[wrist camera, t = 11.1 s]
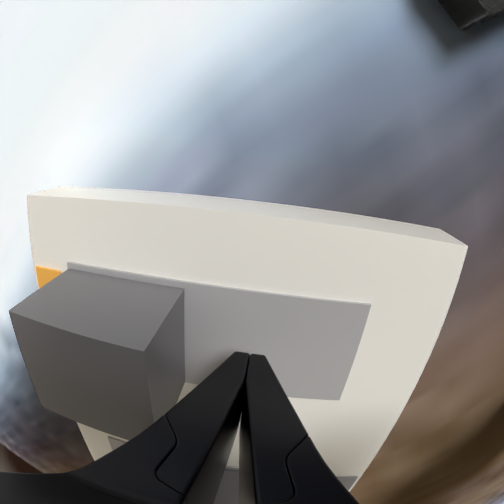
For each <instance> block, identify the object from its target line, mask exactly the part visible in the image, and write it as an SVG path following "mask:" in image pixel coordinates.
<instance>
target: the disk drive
mask: <svg viewBox="0 0 504 504" xmlns="http://www.w3.org/2000/svg"><path fill="white" fill-rule="evenodd" d="M438 1H439V2H440V3H441V4H442V5H443V6H444V8H445V9H446V11H447V12H448V13H449V15H450V16H451V17H452V19H453V20H454V21H455V23H456V24H457V26H458V27H459V28H460V29H462V30H466V29H468V28H470V27H471V26H473V25H475V24H477V23H479V22H481V23H482V22H485V21H486V20H488V19H491V18H493V17H495V16H497V15H499V14H501V13H503V12H504V0H438Z"/></svg>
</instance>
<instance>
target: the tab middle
mask: <svg viewBox="0 0 504 504" xmlns="http://www.w3.org/2000/svg"><path fill="white" fill-rule="evenodd" d="M213 504H239V472H236V471H229V470H225V471H224V474H223V477H222V480H221V483H220V486H219V489H218V492H217V494H216V497H215V500H214V503H213Z"/></svg>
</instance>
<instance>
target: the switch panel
mask: <svg viewBox="0 0 504 504" xmlns="http://www.w3.org/2000/svg"><path fill="white" fill-rule="evenodd" d="M27 205H28V220H29V232H30V241H31V250H32V258H33V265H34V271H35V278H36V283H37V289H40V288H41V287H42V286H44V285H45V284H47V283H48V282H50V281H51V280H53V279H54V278H55V277H57V276H58V275H60V274H61V273H63V272H64V271H66V270H67V269H74V270H80V271H85V272H90V273H95V274H101V275H106V276H112V277H117V278H123V279H128V280H134V281H140V282H146V283H152V284H158V285H164V286H170V287H177V288H183V289H184V346H185V383H184V386H183V388H182V391H181V394H180V396H179V399H178V401H177V403H178V402H179V401H180V400H181V399H183V398H184V397H185V396H186V395H187V394H188V393H189V392H191V391H192V390H193V389H194V388H195V387H196V386H197V385H199V384H200V383H201V382H202V381H203V380H204V379H205V378H206V377H207V376H209V375H210V374H211V373H212V372H213V371H214V370H215V369H216V368H217V367H218V366H220V365H221V364H222V363H223V362H224V361H225V360H226V359H227V358H228V357H229V356H230V355H231V354H233V353H234V352H235V351H239V352H246V353H249V355H250V354H261V355H265V356H266V358H267V360H268V362H269V364H270V365H271V367H272V369H273V371H274V373H275V375H276V377H277V378H278V380H279V382H280V384H281V386H282V388H283V389H284V391H285V393H286V395H287V397H288V399H289V400H290V402H291V404H292V406H293V408H294V409H295V411H296V413H297V415H298V417H299V418H300V420H301V422H302V424H303V426H304V427H305V429H306V431H307V433H308V436H309V437H310V438H311V439H312V441H313V443H314V445H315V447H316V448H317V450H318V451H319V453H320V455H321V456H322V458H323V459H324V461H325V462H326V464H327V465H328V466H329V468H330V469H331V470H332V472H333V473H334V474H335V476H336V477H337V478H338V479H339V480H340V482H341V483H342V484H343V485H344V487H345V488H346V489H347V490H348V491H349V492H350V491H351V489H352V488H353V487H354V485H355V484H356V483H357V481H358V480H359V479H360V477H361V476H362V474H363V473H364V472H365V470H366V469H367V467H368V466H369V464H370V463H371V461H372V460H373V458H374V457H375V455H376V454H377V452H378V451H379V449H380V448H381V446H382V445H383V443H384V441H385V440H386V438H387V436H388V435H389V433H390V432H391V430H392V428H393V426H394V425H395V423H396V421H397V420H398V418H399V416H400V414H401V413H402V411H403V409H404V407H405V405H406V403H407V402H408V400H409V398H410V396H411V394H412V392H413V390H414V388H415V386H416V384H417V382H418V380H419V378H420V376H421V374H422V372H423V370H424V367H425V365H426V363H427V361H428V359H429V356H430V354H431V352H432V350H433V347H434V345H435V343H436V340H437V338H438V335H439V333H440V330H441V328H442V325H443V323H444V320H445V317H446V315H447V312H448V309H449V307H450V304H451V301H452V298H453V295H454V292H455V289H456V286H457V283H458V280H459V276H460V273H461V270H462V266H463V263H464V259H465V256H466V252H467V248H468V246H467V245H465V244H464V243H462V242H460V241H459V240H457V239H456V238H454V237H452V236H451V235H449V234H447V233H446V232H444V231H442V230H441V229H438V228H432V227H427V226H422V225H416V224H411V223H405V222H399V221H393V220H388V219H382V218H376V217H369V216H363V215H357V214H350V213H344V212H337V211H330V210H323V209H316V208H308V207H301V206H293V205H286V204H278V203H269V202H261V201H252V200H243V199H234V198H225V197H215V196H204V195H194V194H183V193H171V192H158V191H145V190H130V189H114V188H96V187H74V186H59V187H55V188H51V189H48V190H44V191H40V192H37V193H33V194H30V195H27ZM240 419H241V418H240ZM77 424H78V426H79V429H80V431H81V433H82V436H83V438H84V440H85V442H86V445H87V447H88V449H89V451H90V453H91V455H92V457H93V459H94V461H95V460H97V459H99V458H101V457H103V456H104V455H106V454H108V453H109V452H111V451H113V450H115V449H116V448H118V447H120V446H121V445H123V444H125V443H126V442H128V441H129V440H126V439H123V438H120V437H117V436H114V435H111V434H108V433H105V432H102V431H99V430H97V429H94V428H91V427H88V426H86V425H83V424H81V423H78V422H77ZM239 429H240V423H239V428H238V431H237V434H236V438H235V441H234V444H233V447H232V450H231V453H230V456H229V459H228V462H227V465H226V468H225V470H229V471H236V472H239Z"/></svg>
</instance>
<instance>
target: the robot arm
mask: <svg viewBox="0 0 504 504" xmlns="http://www.w3.org/2000/svg"><path fill="white" fill-rule="evenodd" d="M240 418H241V419H240ZM239 423H240V429H239V504H359V503H358V502H357V501H356V500H355V498H354V497H353V496H352V495H351V494H350V493H349V491H348V490H347V489H346V488H345V487H344V485H343V484H342V483H341V482H340V480H339V479H338V478H337V477H336V476H335V474H334V473H333V472H332V470H331V469H330V468H329V466H328V465H327V464H326V462H325V461H324V459H323V458H322V456H321V455H320V453H319V451H318V450H317V448H316V447H315V445H314V443H313V441H312V439H311V438H310V437H309V436H308V433H307V431H306V429H305V427H304V426H303V424H302V422H301V420H300V418H299V417H298V415H297V413H296V411H295V409H294V408H293V406H292V404H291V402H290V400H289V399H288V397H287V395H286V393H285V391H284V389H283V388H282V386H281V384H280V382H279V380H278V378H277V377H276V375H275V373H274V371H273V369H272V367H271V365H270V364H269V362H268V360H267V358H266V356H265V355H261V354H250V355H249V353H246V352H239V351H235V352H234V353H233V354H231V355H230V356H229V357H228V358H227V359H226V360H225V361H224V362H223V363H222V364H221V365H220V366H218V367H217V368H216V369H215V370H214V371H213V372H212V373H211V374H210V375H209V376H207V377H206V378H205V379H204V380H203V381H202V382H201V383H200V384H199V385H197V386H196V387H195V388H194V389H193V390H192V391H191V392H189V393H188V394H187V395H186V396H185V397H184V398H183V399H181V400H180V401H179V402H178V403H177V404H176V405H175V406H173V407H172V408H171V409H170V410H169V411H168V412H166V413H165V415H163V416H161V417H160V418H159V419H158V420H157V421H156V422H154V423H153V424H152V425H151V426H149V427H148V428H147V429H145V430H144V431H143V432H141V433H140V434H139V435H137V436H136V437H134V438H132V439H131V440H129V441H128V442H126V443H125V444H123V445H121V446H120V447H118V448H116V449H115V450H113V451H111V452H109V453H108V454H106V455H104V456H103V457H101V458H99V459H97V460H95V461H94V462H92V463H90V464H88V465H86V466H84V467H82V468H80V469H77V470H75V471H71V472H67V473H55V474H41V473H13V472H0V504H213V503H214V500H215V497H216V494H217V492H218V489H219V486H220V483H221V480H222V477H223V474H224V471H225V468H226V465H227V462H228V459H229V456H230V453H231V450H232V447H233V444H234V441H235V438H236V434H237V431H238V428H239Z"/></svg>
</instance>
